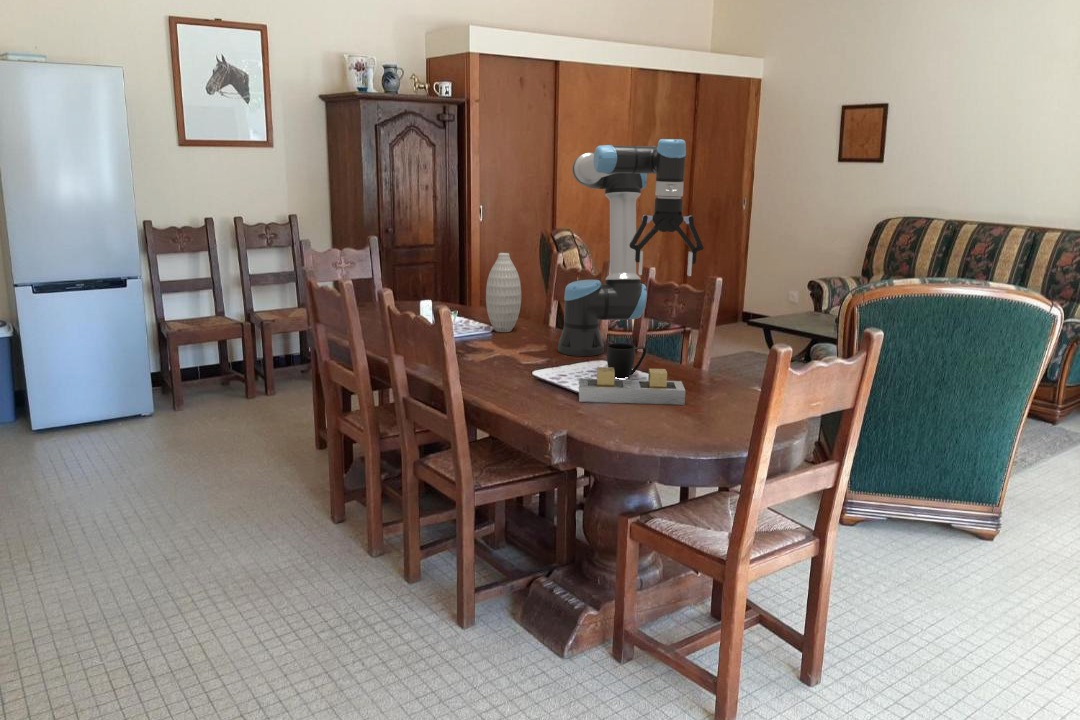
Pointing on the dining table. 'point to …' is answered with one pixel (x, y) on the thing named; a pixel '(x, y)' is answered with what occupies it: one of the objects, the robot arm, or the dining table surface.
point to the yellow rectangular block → (657, 378)
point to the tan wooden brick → (605, 376)
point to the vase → (503, 294)
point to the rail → (631, 392)
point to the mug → (623, 358)
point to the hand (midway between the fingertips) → (664, 274)
